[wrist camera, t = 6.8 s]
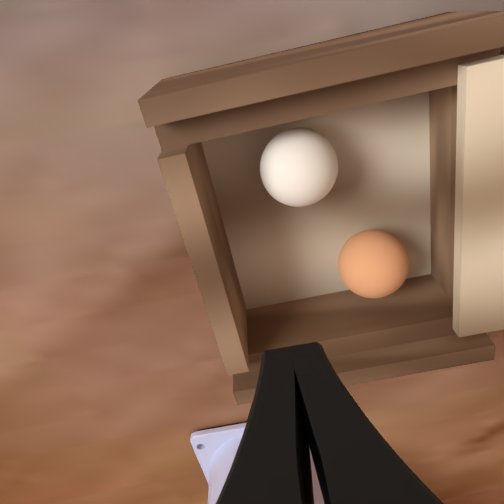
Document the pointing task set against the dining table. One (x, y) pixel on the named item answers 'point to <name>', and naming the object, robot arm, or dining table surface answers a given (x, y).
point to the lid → (479, 198)
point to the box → (334, 203)
